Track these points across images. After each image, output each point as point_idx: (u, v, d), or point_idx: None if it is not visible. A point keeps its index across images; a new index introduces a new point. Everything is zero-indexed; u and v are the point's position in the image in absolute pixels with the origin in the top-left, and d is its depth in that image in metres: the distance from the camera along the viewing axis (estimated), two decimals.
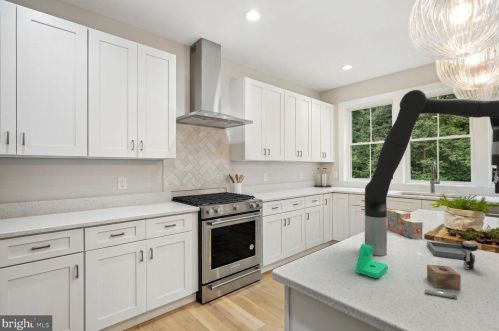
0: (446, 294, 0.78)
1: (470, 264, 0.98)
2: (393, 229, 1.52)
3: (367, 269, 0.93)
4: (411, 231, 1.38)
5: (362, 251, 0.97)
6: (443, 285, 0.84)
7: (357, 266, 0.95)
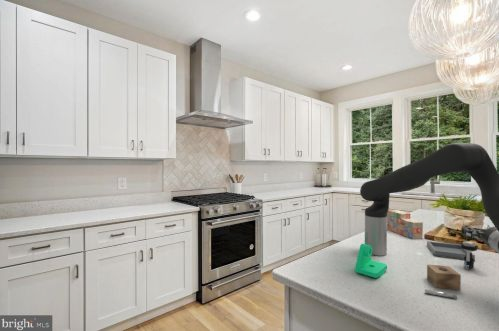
0: (446, 294, 0.78)
1: (470, 264, 0.98)
2: (393, 229, 1.52)
3: (366, 269, 0.93)
4: (411, 231, 1.38)
5: (361, 250, 0.97)
6: (443, 285, 0.84)
7: (356, 266, 0.95)
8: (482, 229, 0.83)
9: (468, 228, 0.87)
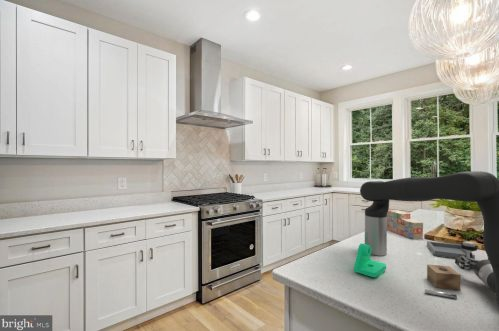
0: (446, 294, 0.78)
1: None
2: (393, 229, 1.51)
3: (365, 269, 0.94)
4: (412, 231, 1.37)
5: (360, 250, 0.97)
6: (443, 285, 0.84)
7: (355, 265, 0.95)
8: (474, 260, 0.88)
9: (461, 258, 0.92)
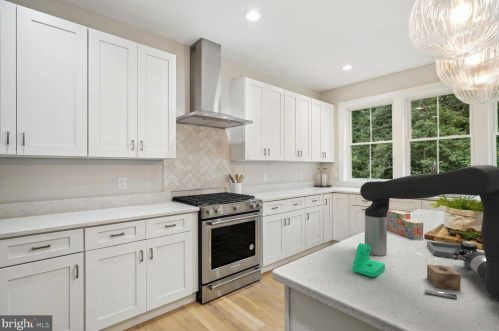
0: (446, 294, 0.78)
1: None
2: (393, 230, 1.51)
3: (364, 268, 0.94)
4: (412, 232, 1.37)
5: (359, 250, 0.98)
6: (443, 285, 0.84)
7: (354, 265, 0.96)
8: (467, 252, 0.95)
9: (461, 251, 0.99)
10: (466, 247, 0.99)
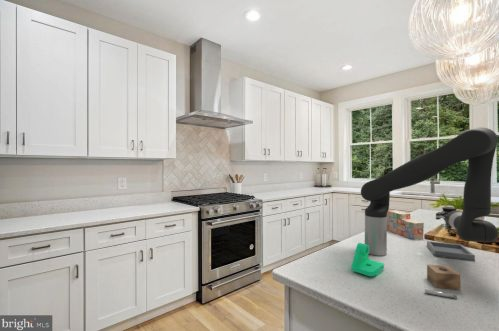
0: (446, 294, 0.78)
1: None
2: (393, 230, 1.50)
3: (363, 268, 0.94)
4: (412, 232, 1.36)
5: (358, 250, 0.98)
6: (443, 285, 0.84)
7: (353, 265, 0.96)
8: (447, 213, 1.11)
9: (443, 213, 1.15)
10: (447, 210, 1.15)
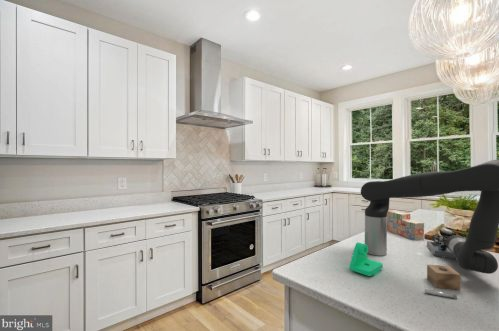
0: (446, 294, 0.78)
1: (443, 247, 1.15)
2: (393, 230, 1.50)
3: (361, 267, 0.95)
4: (413, 232, 1.35)
5: (356, 249, 0.98)
6: (443, 285, 0.84)
7: (351, 264, 0.97)
8: (446, 237, 1.11)
9: (437, 235, 1.16)
10: (443, 233, 1.15)
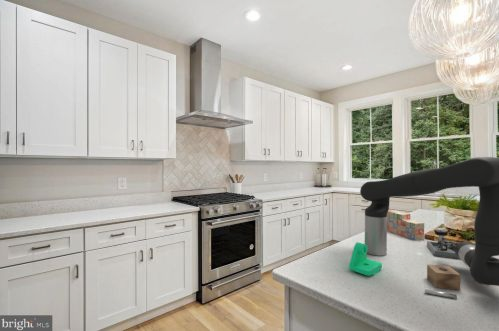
0: (446, 294, 0.78)
1: None
2: (393, 230, 1.49)
3: (360, 267, 0.95)
4: (413, 232, 1.35)
5: (355, 249, 0.99)
6: (443, 285, 0.84)
7: (350, 264, 0.97)
8: (455, 243, 1.01)
9: (445, 241, 1.05)
10: (438, 233, 1.17)
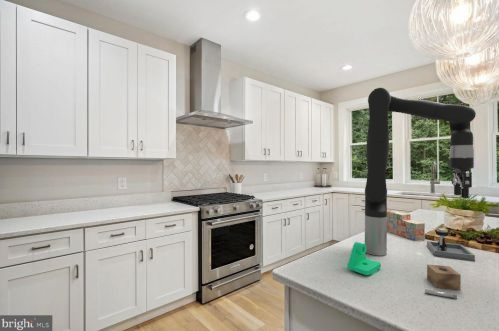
0: (446, 294, 0.78)
1: (442, 247, 1.16)
2: (393, 231, 1.49)
3: (359, 267, 0.95)
4: (414, 233, 1.35)
5: (354, 249, 0.99)
6: (443, 285, 0.84)
7: (349, 263, 0.97)
8: (458, 176, 1.01)
9: (462, 185, 0.98)
10: (439, 233, 1.16)
